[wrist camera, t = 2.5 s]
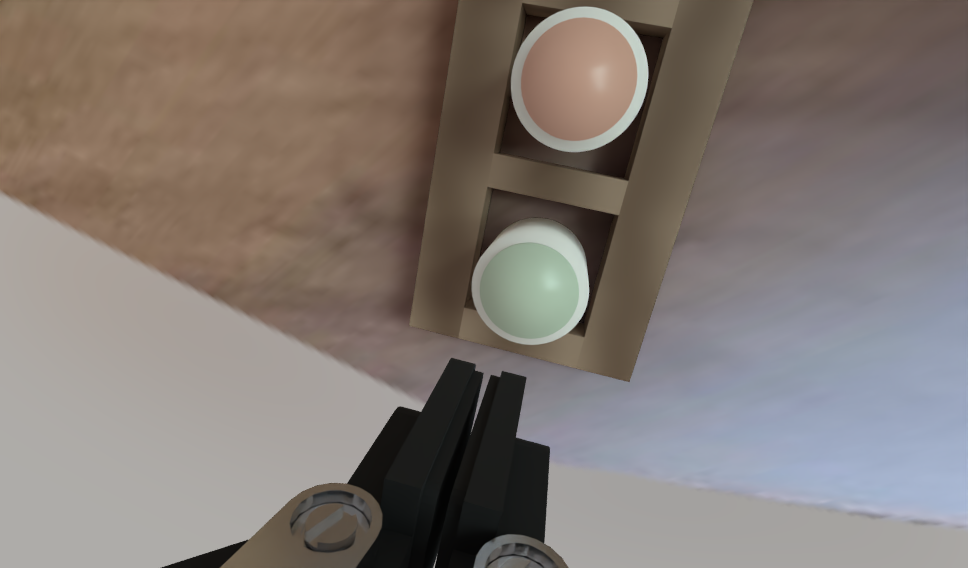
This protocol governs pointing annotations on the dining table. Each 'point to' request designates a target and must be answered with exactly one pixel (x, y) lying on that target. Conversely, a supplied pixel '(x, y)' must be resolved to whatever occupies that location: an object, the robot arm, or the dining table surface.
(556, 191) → the rack with square compartments
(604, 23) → the small jar
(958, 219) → the dining table surface
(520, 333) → the white round cylinder
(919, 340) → the dining table surface
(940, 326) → the dining table surface
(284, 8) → the dining table surface
